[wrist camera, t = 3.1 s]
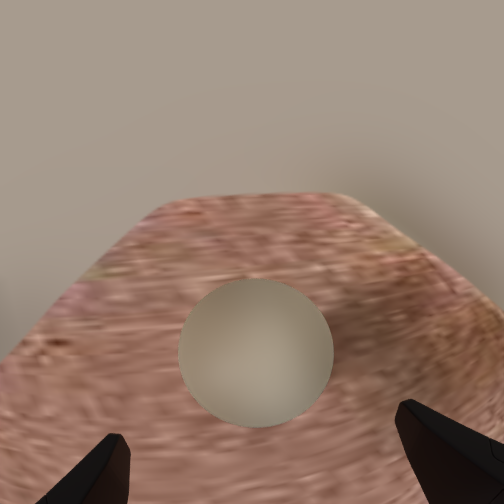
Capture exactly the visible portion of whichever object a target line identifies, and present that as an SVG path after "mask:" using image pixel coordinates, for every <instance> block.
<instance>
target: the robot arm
mask: <svg viewBox="0 0 504 504" xmlns="http://www.w3.org/2000/svg"><path fill="white" fill-rule="evenodd" d="M395 424H396V427H397V430H398V433H399V436H400V438H401V441H402V444H403V447H404V450H405V453H406V456H407V458H408V460H409V462H410V465H411V467H412V469H413V471H414V473H415V475H416V477H417V479H418V481H419V483H420V485H421V487H422V490H423V492H424V494H425V496H426V498H427V500H428V503H429V504H504V444H502V443H500V442H498V441H495V440H493V439H491V438H489V437H487V436H485V435H483V434H481V433H478V432H476V431H474V430H472V429H470V428H468V427H466V426H464V425H462V424H460V423H458V422H456V421H454V420H452V419H450V418H448V417H446V416H444V415H442V414H440V413H438V412H436V411H434V410H433V409H431V408H429V407H427V406H425V405H423V404H421V403H419V402H417V401H415V400H413V399H408V400H405V401H402V402H401V403H400V404H399V407H398V410H397V413H396V416H395ZM130 457H131V453H130V449H129V447H128V445H127V443H126V441H125V439H124V438H123V436H122V435H121V434H115V433H110V434H108V435H107V436H106V437H105V438H104V439H103V440H102V441H101V442H100V443H99V444H98V445H97V446H96V447H95V448H94V449H92V450H91V451H90V452H89V453H88V454H87V455H86V456H85V457H84V458H83V459H82V460H81V461H80V462H79V463H78V464H77V465H76V466H75V467H74V468H73V469H72V470H71V471H70V472H69V473H68V474H67V475H66V476H64V477H63V478H62V479H61V480H60V481H59V482H58V483H57V484H56V485H55V486H54V487H53V488H52V489H51V490H50V491H49V492H48V493H46V495H44V496H43V497H42V498H41V499H40V500H39V501H38V502H37V503H35V504H127V502H128V495H129V478H130Z"/></svg>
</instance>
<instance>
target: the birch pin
mask: <svg viewBox="0 0 504 504" xmlns="http://www.w3.org/2000/svg"><path fill="white" fill-rule="evenodd" d="M333 359H334V346H333V340H332V335H331V332H330V329H329V326H328V324H327V322H326V320H325V318H324V316H323V315H322V313H321V312H320V310H319V309H318V308H317V307H316V305H315V304H314V303H313V302H312V301H311V300H310V299H309V298H308V297H306V296H305V295H304V294H302V293H301V292H300V291H298V290H296V289H294V288H292V287H291V286H288V285H286V284H283V283H280V282H277V281H273V280H267V279H244V280H239V281H234V282H231V283H228V284H225V285H223V286H221V287H219V288H217V289H215V290H214V291H212V292H210V293H209V294H208V295H206V296H205V297H204V298H203V299H202V300H201V301H200V302H199V303H198V304H197V305H196V306H195V307H194V308H193V310H192V311H191V313H190V314H189V316H188V317H187V319H186V321H185V323H184V326H183V328H182V331H181V335H180V339H179V346H178V361H179V366H180V371H181V374H182V377H183V380H184V382H185V384H186V386H187V388H188V390H189V392H190V393H191V395H192V396H193V397H194V399H195V400H196V401H197V402H198V403H199V404H200V405H201V406H202V407H203V408H204V409H205V410H207V411H208V412H209V413H211V414H212V415H214V416H215V417H217V418H219V419H221V420H223V421H225V422H228V423H231V424H234V425H238V426H243V427H253V428H261V427H270V426H274V425H278V424H282V423H284V422H287V421H289V420H292V419H293V418H295V417H297V416H299V415H300V414H302V413H303V412H304V411H306V410H307V409H308V408H309V407H310V406H311V405H312V404H313V403H314V402H315V401H316V400H317V399H318V398H319V396H320V395H321V394H322V392H323V390H324V388H325V387H326V385H327V383H328V380H329V378H330V375H331V371H332V367H333Z"/></svg>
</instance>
